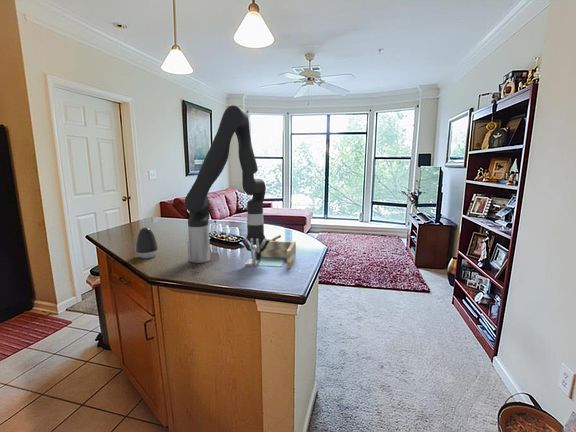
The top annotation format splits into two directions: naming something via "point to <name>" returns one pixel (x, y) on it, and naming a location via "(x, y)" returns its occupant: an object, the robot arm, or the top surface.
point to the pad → (271, 263)
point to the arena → (280, 250)
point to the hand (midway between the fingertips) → (256, 259)
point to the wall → (275, 238)
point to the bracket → (253, 258)
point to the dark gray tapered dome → (146, 243)
